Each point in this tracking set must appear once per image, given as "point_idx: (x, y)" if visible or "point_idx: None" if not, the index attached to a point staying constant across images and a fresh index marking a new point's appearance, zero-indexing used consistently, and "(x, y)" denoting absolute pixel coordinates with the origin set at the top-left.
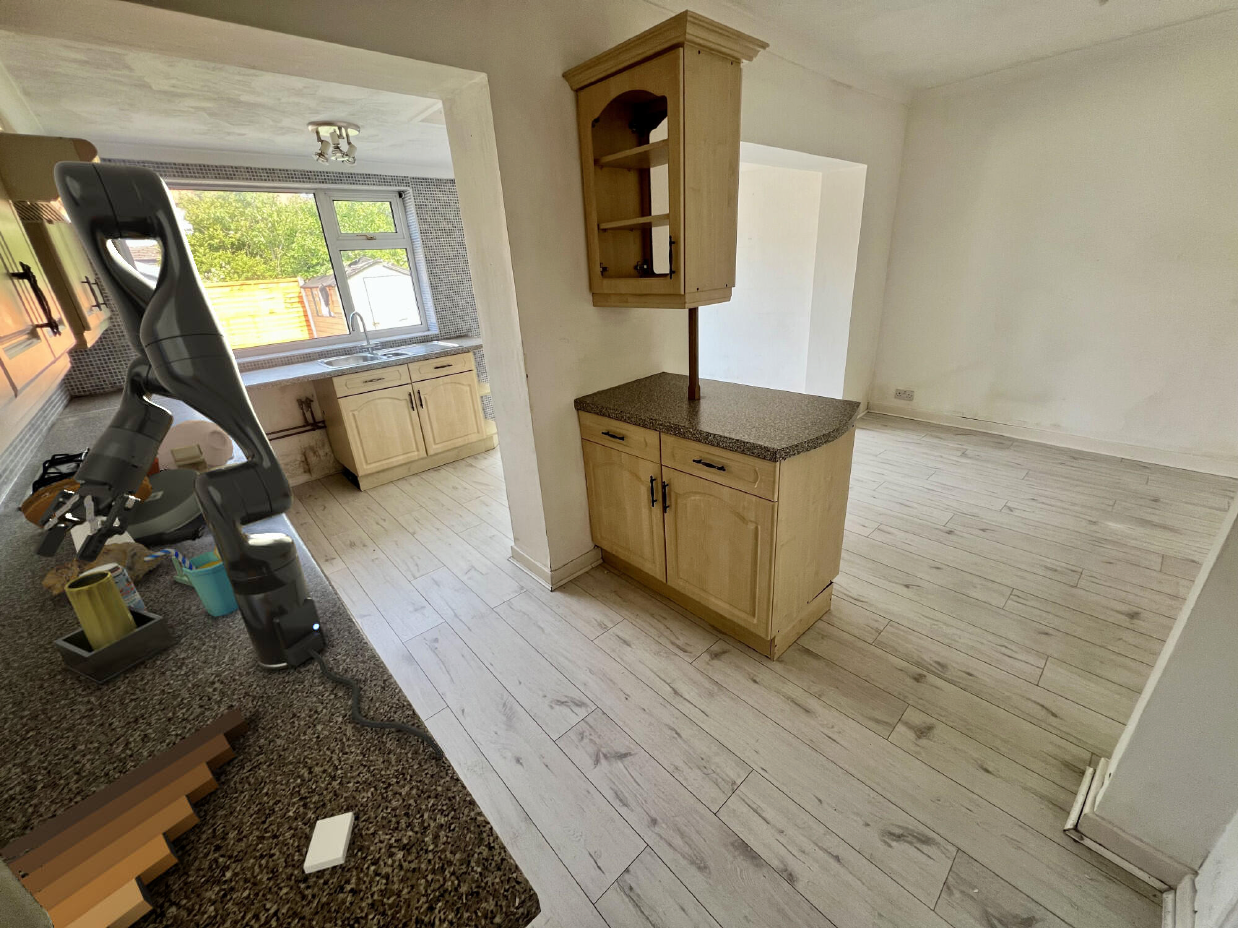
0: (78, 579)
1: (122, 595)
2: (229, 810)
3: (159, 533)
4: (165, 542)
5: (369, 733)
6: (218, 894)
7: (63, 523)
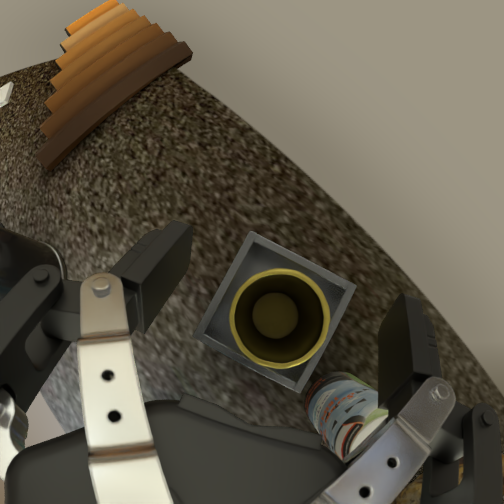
0: (321, 334)
1: (324, 412)
2: None
3: None
4: None
5: None
6: (44, 68)
7: (426, 461)
